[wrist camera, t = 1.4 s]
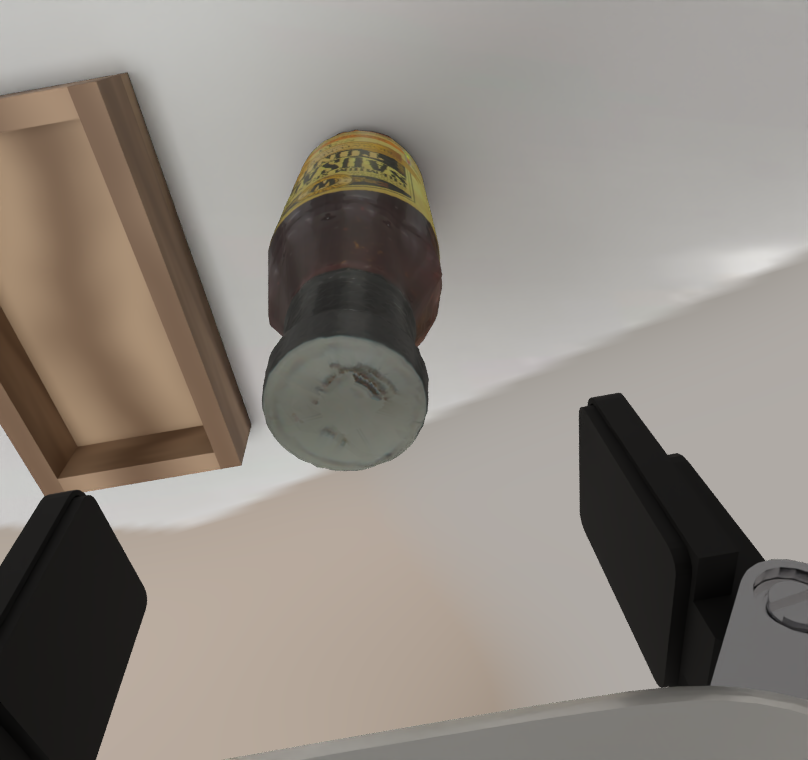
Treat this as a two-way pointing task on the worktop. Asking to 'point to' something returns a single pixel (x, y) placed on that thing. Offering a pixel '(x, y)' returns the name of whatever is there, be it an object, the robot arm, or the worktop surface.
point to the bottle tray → (103, 302)
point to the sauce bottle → (351, 305)
